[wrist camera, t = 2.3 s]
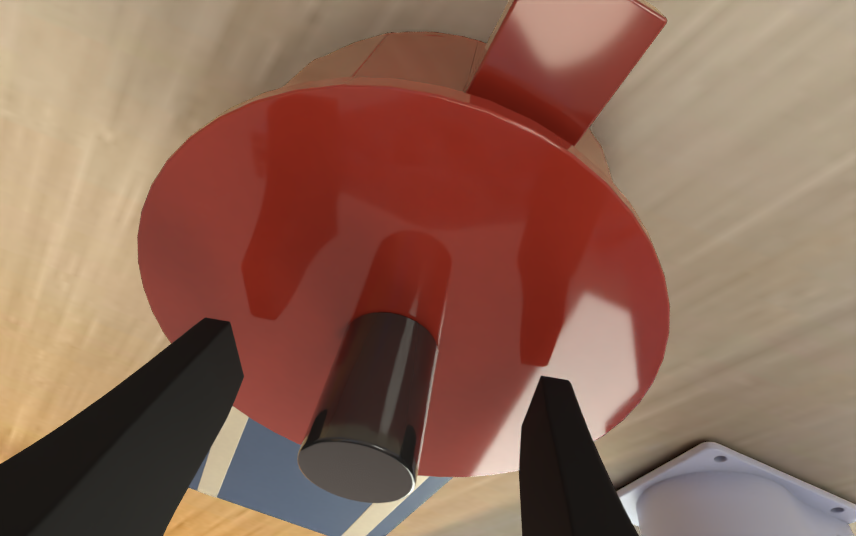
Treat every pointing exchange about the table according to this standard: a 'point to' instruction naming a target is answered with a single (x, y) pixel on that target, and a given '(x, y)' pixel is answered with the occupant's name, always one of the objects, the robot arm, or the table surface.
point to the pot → (519, 61)
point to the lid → (403, 276)
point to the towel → (292, 484)
